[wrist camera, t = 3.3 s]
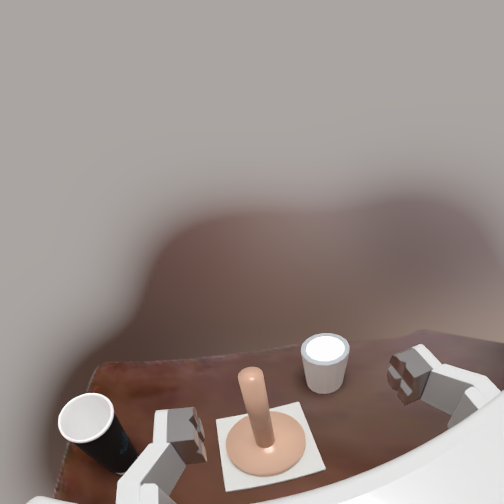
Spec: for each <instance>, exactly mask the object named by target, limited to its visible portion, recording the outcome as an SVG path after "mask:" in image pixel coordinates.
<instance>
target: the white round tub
mask: <svg viewBox="0 0 504 504" xmlns="http://www.w3.org/2000/svg"><path fill="white" fill-rule="evenodd" d="M301 355H302V360H303V365H304V371H305V377H306V382H307V385H308V387H309V388H310V389H311V390H312V391H313V392H316V393H319V394H328V393H332V392H334V391H336V390H337V389H339V388H340V386H341V385H342V382H343V378H344V373H345V369H346V364H347V360H348V355H349V344H348V342H347V341H346V340H345V339H344V338H342V337H341V336H339V335H335V334H332V333H322V334H317V335H314V336H312V337H310V338H308V339H307V340H306V341H305V342H304V343H303V344H302V348H301Z"/></svg>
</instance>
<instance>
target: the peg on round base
mask: <svg viewBox="0 0 504 504" xmlns="http://www.w3.org/2000/svg"><path fill="white" fill-rule="evenodd" d="M238 380H239V383H240V387H241V391H242V395H243V398H244V402H245V406H246V410H247V413H248V416H246V417H244V418H242V419H241V420H239V421H238V422H237V423H236V424H235V425H234V426H233V427H232V428H231V430H230V431H229V433H228V435H227V439H226V450H227V453H228V456H229V458H230V460H231V461H232V463H233V464H234V465H235V466H236V467H237V468H238V469H239V470H241V471H242V472H244V473H246V474H249V475H252V476H257V477H270V476H276V475H279V474H282V473H284V472H286V471H288V470H290V469H291V468H292V467H294V466H295V465H296V464H297V463H298V462H299V460H300V459H301V457H302V456H303V453H304V451H305V444H306V441H305V433H304V430H303V428H302V426H301V425H300V423H299V422H298V421H297V420H295V419H294V418H293V417H291V416H289V415H287V414H284V413H281V412H276V411H270V410H269V405H268V399H267V394H266V388H265V382H264V377H263V372H262V370H261V369H259V368H257V367H248V368H245V369H243V370H241V371H240V373H239V374H238Z"/></svg>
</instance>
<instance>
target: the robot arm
mask: <svg viewBox="0 0 504 504" xmlns="http://www.w3.org/2000/svg"><path fill="white" fill-rule="evenodd" d="M390 363H391V367H390V368H389V369H388V373H387V378H388V382H389V384H390V386H391V388H392V389H394V390H396V391H398V395H397V396H398V397H399V399H400V400H401V401H402V403H403V404H404V406H406V405H408V404H410V403H412V402H415V401H417V400H419V399H420V400H422V401H424V402H426V403H428V404H430V405H432V406H434V407H436V408H438V409H440V410H442V411H444V412H446V413H448V414H450V415H452V417H451V419H450V420H449V422H448V425H447V427H448V428H449V430H447V431H445V432H444V433H442V434H440V435H439V436H437V437H435V438H434V439H432V440H430V441H428V442H426V443H425V444H423V445H421V446H419V447H417V448H415V449H413V450H412V451H410V452H408V453H406V454H404V455H402V456H400V457H397V458H395V459H393V460H391V461H389V462H387V463H385V464H382V465H380V466H378V467H375V468H373V469H371V470H368V471H366V472H363V473H361V474H358V475H356V476H353V477H350V478H348V479H345V480H342V481H339V482H336V483H333V484H330V485H327V486H324V487H321V488H317V489H314V490H310V491H307V492H303V493H299V494H296V495H292V496H287V497H283V498H279V499H274V500H269V501H264V502H259V503H253V504H504V390H503V391H502V392H501V391H500V390H499V389H498V388H497V387H496V386H495V385H494V384H493V383H492V382H491V381H490V380H489V379H488V378H487V377H486V376H484V375H480V374H477V373H474V372H470V371H467V370H464V369H460V368H457V367H454V366H451V365H447V364H443V365H442V364H441V363H440V362H439V361H438V360H437V359H436V358H435V357H434V356H433V355H432V353H431V352H430V351H429V350H428V349H427V348H426V347H425V346H424V345H422V344H419V345H417V346H415V347H412V348H409V349H407V350H405V351H402V352H400V353H398V354H395V355H393V356H392V357H391V359H390ZM204 440H205V437H204V430H203V426H202V423H201V420H200V419H199V418H198V417H197V411H196V409H195V407H189V408H178V409H167V410H156V413H155V419H154V433H153V443H152V444H149V445H148V446H147V447H146V449H145V450H144V451H143V452H142V453H141V455H140V456H139V457H138V458H137V459H136V461H135V462H134V463H133V464H132V465H131V467H130V468H129V469H128V470H127V471H126V473H125V474H124V475H123V476H122V477H121V479H120V480H119V481H118V484H117V495H116V504H176V503H175V502H174V501H173V500H172V499H171V498H170V497H169V495H170V493H171V491H172V489H173V488H174V486H175V484H176V483H177V481H178V479H179V477H180V476H181V474H182V472H183V470H184V469H185V467H186V465H187V464H195V463H203V462H207V459H206V448H205V447H204V445H203V441H204ZM26 504H76V503H71V502H66V501H61V500H57V499H52V498H48V497H43V496H37V497H34V498H33V499H31V500H30V501H29V502H27V503H26Z"/></svg>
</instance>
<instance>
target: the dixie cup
mask: <svg viewBox="0 0 504 504" xmlns="http://www.w3.org/2000/svg"><path fill="white" fill-rule="evenodd" d="M58 427H59V430H60V432H61V434H62V435H63V436H64V437H65V438H66V439H67V440H69V441H71V442H73V443H74V444H76V445H77V446H78V447H79V448H80V449H82V450H83V451H84V452H85V453H87V454H88V455H89V456H91V457H92V458H93V459H94V460H96V461H97V462H98V463H100V464H101V465H103V466H104V467H105V468H107V469H108V470H110V471H111V472H114V473H117V474H120V475H124V474H125V473H126V471H127V470H128V469H129V468H130V467H131V465H132V464H133V463H134V462H135V461H136V459H137V458H138V456H137V452H136V450H135V448H134V446H133V445H132V443H131V441H130V440H129V438H128V436H127V435H126V433H125V431H124V429H123V428H122V426H121V424H120V422H119V420H118V418H117V417H116V415H115V413H114V408H113V405H112V403H111V401H110V400H109V399H108V398H107V397H105V396H103V395H101V394H97V393H87V394H83V395H80V396H77V397H76V398H74V399H72V400H71V401H69V403H67V404H66V405H65V406H64V408H63V409H62V411H61V413H60V415H59V419H58Z"/></svg>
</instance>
